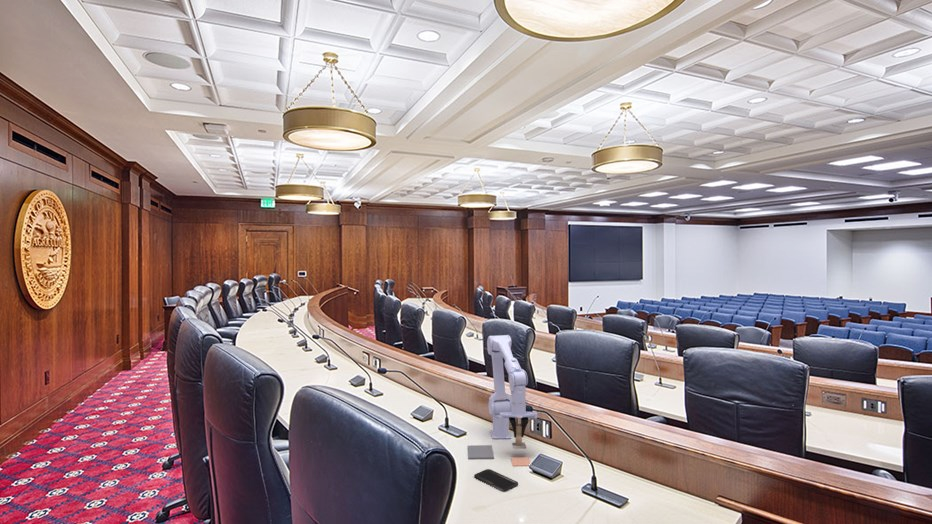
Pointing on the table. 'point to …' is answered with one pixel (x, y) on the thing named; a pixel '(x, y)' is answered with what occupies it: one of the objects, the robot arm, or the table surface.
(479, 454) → the mat
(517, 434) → the grey square paddle
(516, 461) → the tile
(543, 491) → the table surface
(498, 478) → the phone
